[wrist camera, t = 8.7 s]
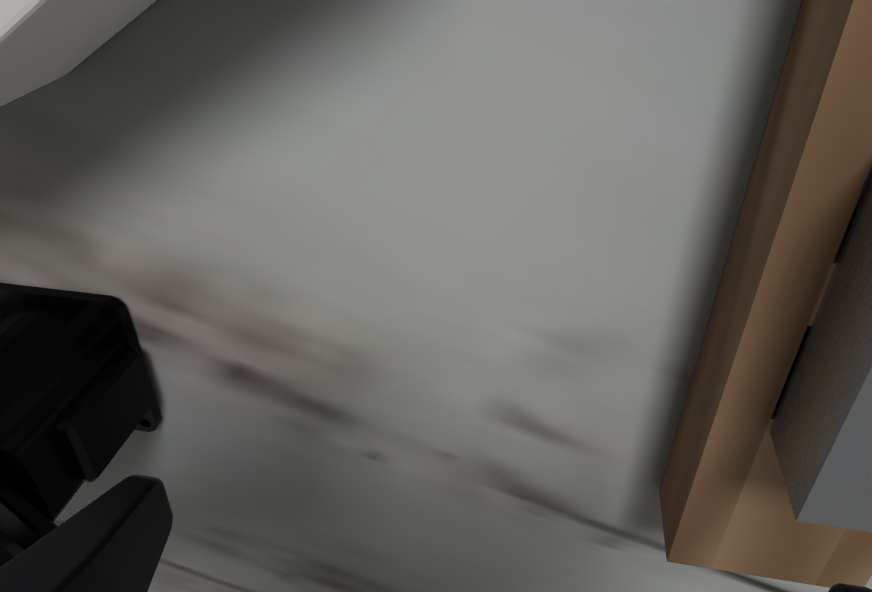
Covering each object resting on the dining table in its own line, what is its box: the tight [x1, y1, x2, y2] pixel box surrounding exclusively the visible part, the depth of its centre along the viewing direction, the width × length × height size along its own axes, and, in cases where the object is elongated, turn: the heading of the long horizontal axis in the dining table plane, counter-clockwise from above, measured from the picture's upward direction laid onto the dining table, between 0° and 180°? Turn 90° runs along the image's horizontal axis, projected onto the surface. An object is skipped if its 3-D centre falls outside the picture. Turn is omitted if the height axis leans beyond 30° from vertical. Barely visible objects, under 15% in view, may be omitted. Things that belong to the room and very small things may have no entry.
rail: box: [659, 0, 872, 588], centre depth 17 cm, size 6×22×3 cm, turn 0°
